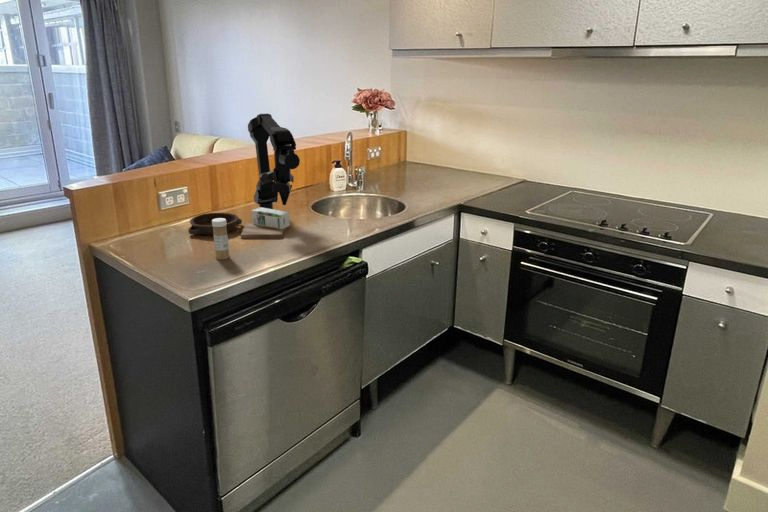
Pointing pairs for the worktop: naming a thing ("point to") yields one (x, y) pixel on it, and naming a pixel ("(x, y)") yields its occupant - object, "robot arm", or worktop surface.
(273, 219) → the syrup box
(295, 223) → the worktop surface
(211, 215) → the dish
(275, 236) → the cutting board
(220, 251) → the sprinkles bottle
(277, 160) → the robot arm
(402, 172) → the worktop surface
